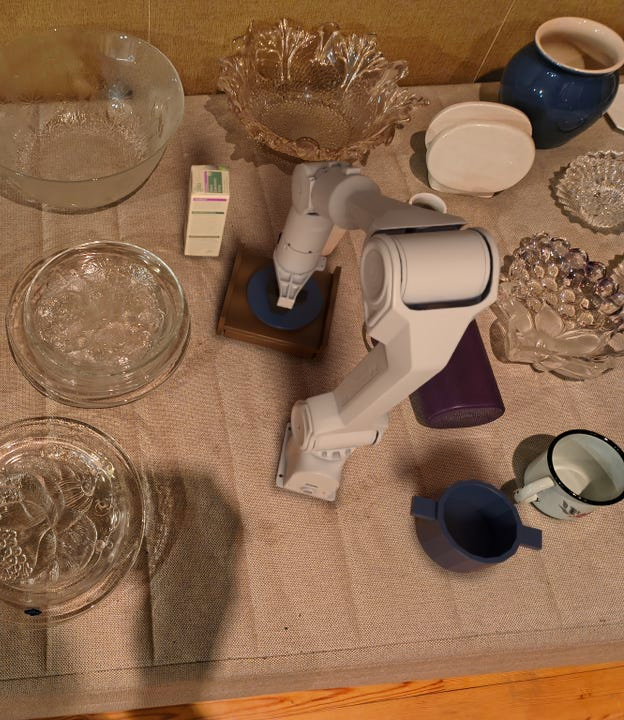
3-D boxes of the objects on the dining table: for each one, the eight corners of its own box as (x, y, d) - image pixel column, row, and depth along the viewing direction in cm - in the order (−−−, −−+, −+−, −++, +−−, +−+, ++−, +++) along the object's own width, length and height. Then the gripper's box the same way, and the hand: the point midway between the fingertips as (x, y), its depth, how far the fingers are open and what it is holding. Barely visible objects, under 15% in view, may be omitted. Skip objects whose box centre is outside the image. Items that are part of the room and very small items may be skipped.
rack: (318, 361, 98) (328, 345, 93) (215, 334, 99) (220, 317, 95) (332, 285, 104) (341, 266, 100) (235, 261, 106) (240, 242, 101)
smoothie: (298, 256, 106) (322, 197, 94) (305, 226, 109) (329, 165, 97) (337, 267, 106) (366, 209, 93) (344, 236, 108) (373, 176, 96)
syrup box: (219, 257, 106) (233, 195, 93) (182, 256, 106) (190, 194, 93) (218, 228, 108) (231, 165, 95) (182, 227, 108) (190, 163, 95)
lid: (312, 341, 96) (321, 324, 92) (237, 319, 97) (243, 302, 93) (326, 279, 101) (335, 261, 97) (255, 260, 102) (260, 241, 98)
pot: (514, 589, 84) (545, 580, 78) (391, 554, 85) (412, 542, 79) (516, 512, 88) (545, 498, 82) (399, 480, 90) (419, 464, 84)
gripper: (327, 288, 82) (300, 341, 94) (343, 201, 88) (316, 261, 100) (271, 274, 83) (251, 328, 95) (291, 188, 89) (270, 249, 101)
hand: (281, 293), depth 98 cm, fingers open, 6 cm apart
